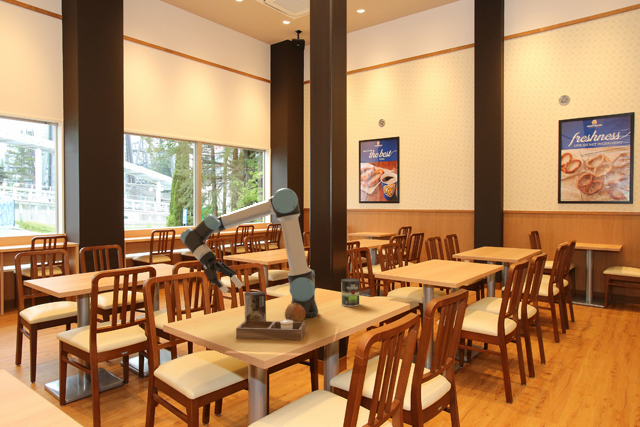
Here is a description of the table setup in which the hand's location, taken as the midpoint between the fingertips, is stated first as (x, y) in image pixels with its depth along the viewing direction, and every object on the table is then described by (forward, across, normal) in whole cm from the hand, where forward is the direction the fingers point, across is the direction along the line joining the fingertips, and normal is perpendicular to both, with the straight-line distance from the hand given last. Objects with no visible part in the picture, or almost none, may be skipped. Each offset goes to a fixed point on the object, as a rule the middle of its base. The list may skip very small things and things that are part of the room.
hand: (234, 289), depth 190 cm
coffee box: (+20, 0, -5) cm, 20 cm away
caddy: (+28, +10, +4) cm, 30 cm away
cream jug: (+32, +9, +9) cm, 35 cm away
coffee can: (+42, -56, +18) cm, 73 cm away
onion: (+31, -11, +6) cm, 33 cm away
